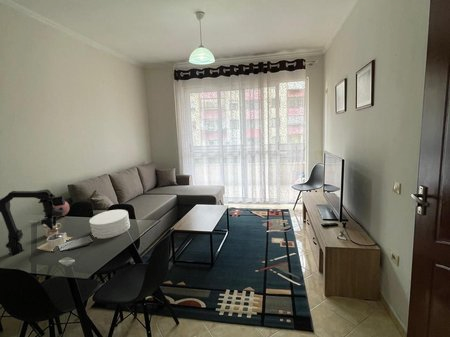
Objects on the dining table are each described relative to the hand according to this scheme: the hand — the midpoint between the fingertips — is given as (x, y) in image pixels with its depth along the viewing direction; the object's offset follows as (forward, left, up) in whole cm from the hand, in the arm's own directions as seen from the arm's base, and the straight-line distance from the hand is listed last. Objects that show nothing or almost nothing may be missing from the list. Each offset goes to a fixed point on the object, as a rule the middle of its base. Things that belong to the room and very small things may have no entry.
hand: (53, 227), depth 184 cm
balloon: (+39, +50, -13) cm, 65 cm away
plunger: (0, 0, -8) cm, 8 cm away
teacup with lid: (+12, +20, -13) cm, 27 cm away
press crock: (0, 0, -13) cm, 13 cm away
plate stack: (+28, -24, -13) cm, 39 cm away
